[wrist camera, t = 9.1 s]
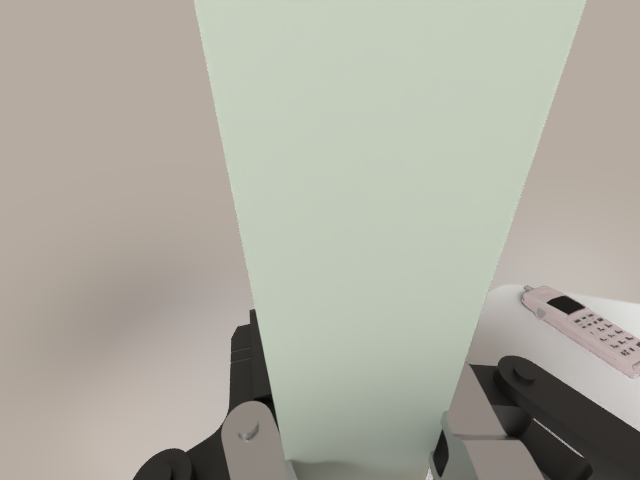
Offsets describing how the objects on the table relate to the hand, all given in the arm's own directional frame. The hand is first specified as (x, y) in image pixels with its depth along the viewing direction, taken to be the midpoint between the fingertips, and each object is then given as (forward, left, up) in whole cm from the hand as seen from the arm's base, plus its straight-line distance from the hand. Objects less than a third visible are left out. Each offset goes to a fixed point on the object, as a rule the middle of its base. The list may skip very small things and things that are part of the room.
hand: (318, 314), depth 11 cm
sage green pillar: (0, -2, -12) cm, 13 cm away
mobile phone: (+43, +8, -26) cm, 51 cm away
